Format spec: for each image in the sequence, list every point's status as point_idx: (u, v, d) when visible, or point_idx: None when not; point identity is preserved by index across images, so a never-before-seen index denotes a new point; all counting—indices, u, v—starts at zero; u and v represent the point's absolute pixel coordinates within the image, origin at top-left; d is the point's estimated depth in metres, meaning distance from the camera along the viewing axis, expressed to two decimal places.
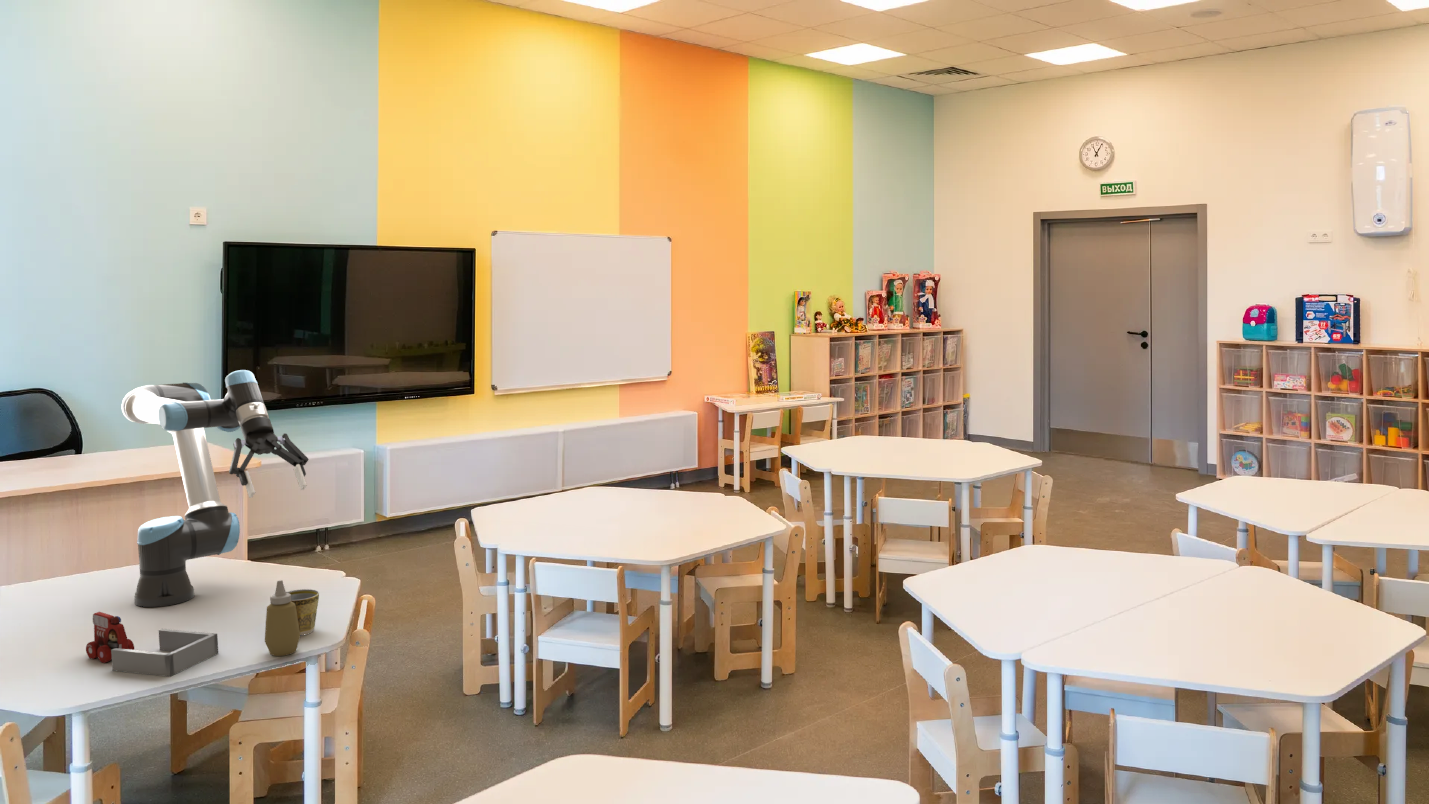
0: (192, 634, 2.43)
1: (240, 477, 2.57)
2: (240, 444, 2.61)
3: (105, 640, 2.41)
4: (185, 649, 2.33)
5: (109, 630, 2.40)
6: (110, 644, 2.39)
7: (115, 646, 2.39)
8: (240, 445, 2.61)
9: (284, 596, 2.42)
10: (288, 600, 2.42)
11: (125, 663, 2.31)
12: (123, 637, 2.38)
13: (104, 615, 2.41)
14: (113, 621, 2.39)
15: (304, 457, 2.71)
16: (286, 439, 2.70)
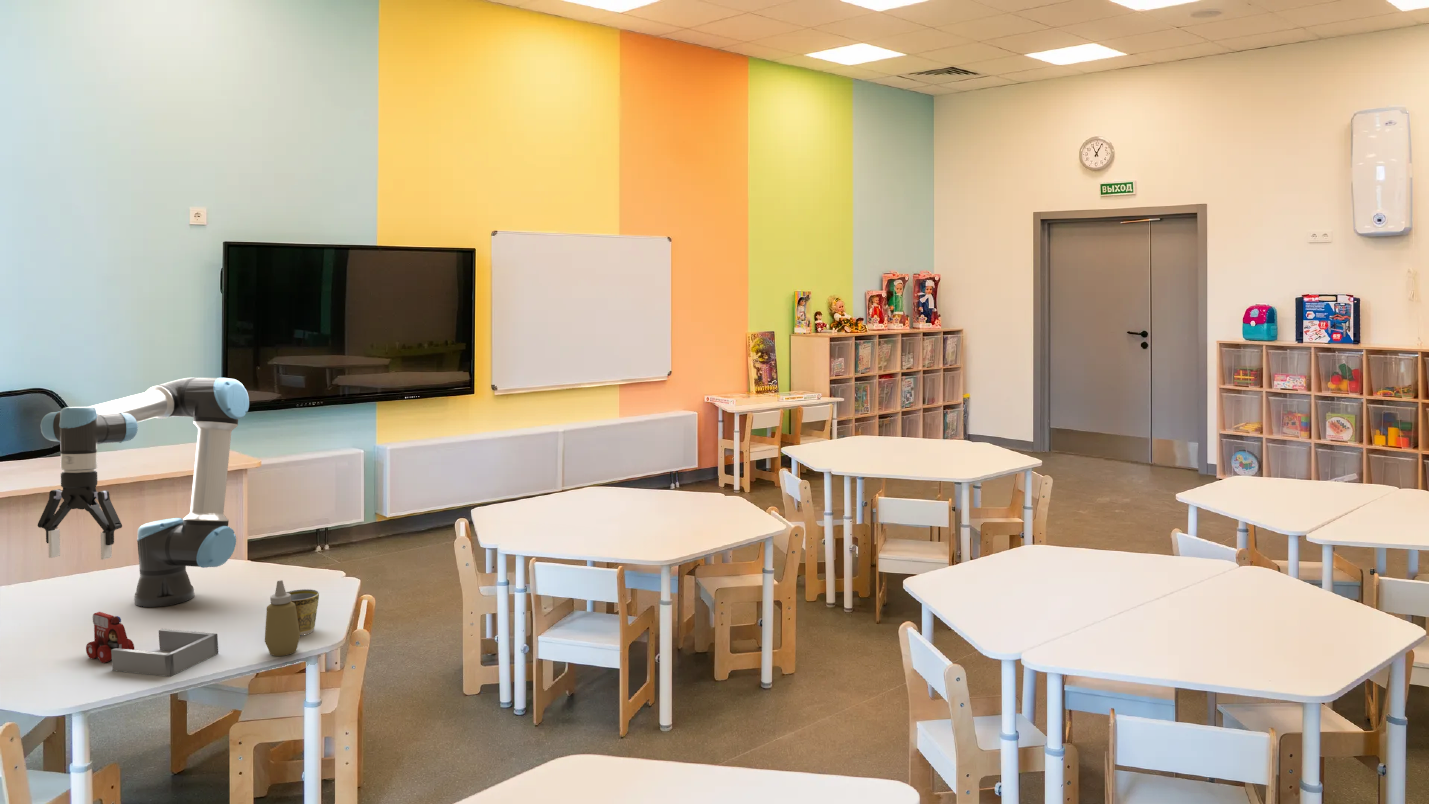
0: (192, 634, 2.43)
1: None
2: (52, 498, 2.41)
3: (105, 640, 2.41)
4: (185, 649, 2.33)
5: (109, 630, 2.40)
6: (110, 644, 2.39)
7: (115, 646, 2.39)
8: (52, 499, 2.41)
9: (284, 596, 2.42)
10: (288, 600, 2.42)
11: (125, 663, 2.31)
12: (123, 637, 2.38)
13: (104, 615, 2.41)
14: (113, 621, 2.39)
15: (111, 525, 2.40)
16: (99, 499, 2.40)
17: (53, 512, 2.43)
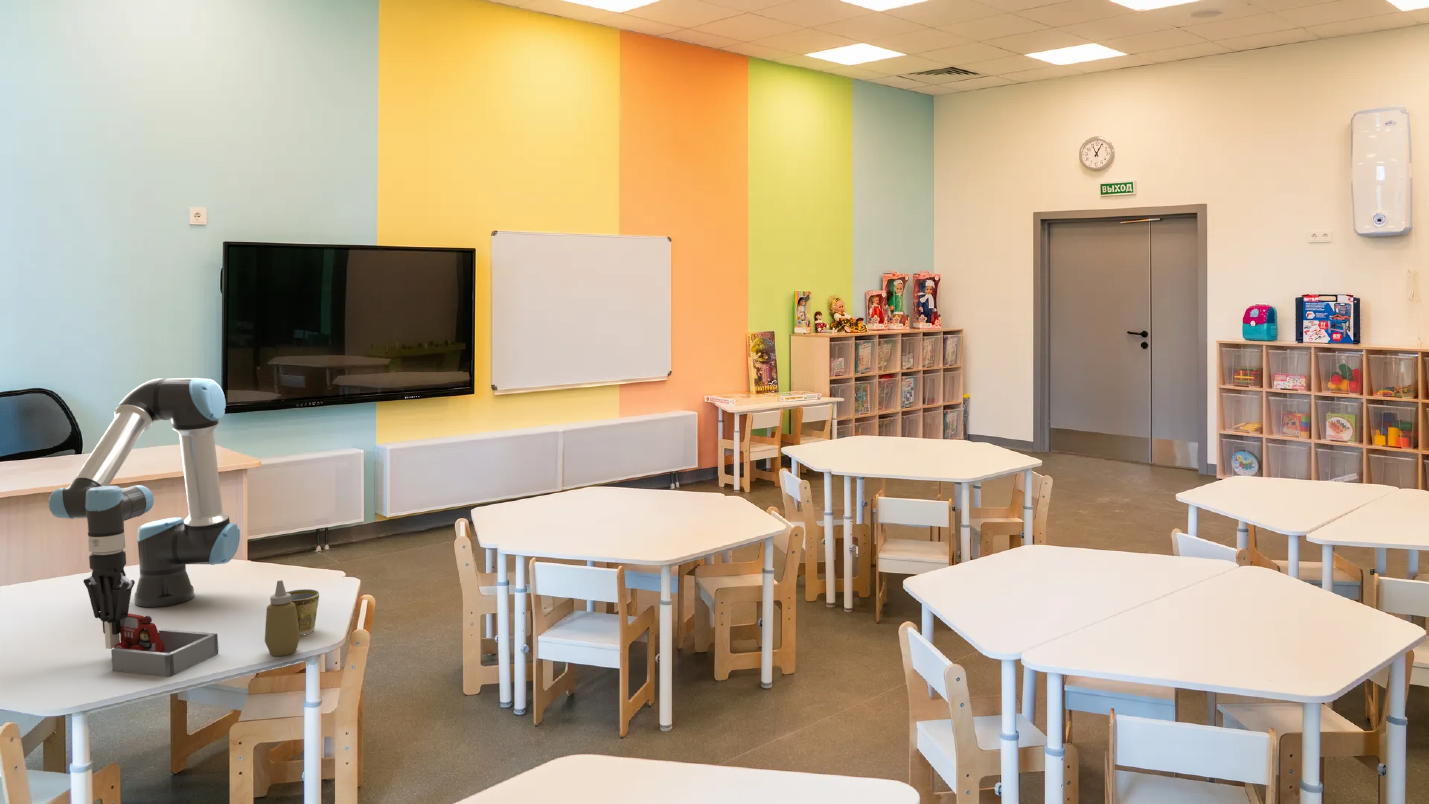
0: (192, 634, 2.43)
1: None
2: (89, 585, 2.39)
3: (134, 641, 2.40)
4: (185, 649, 2.33)
5: (139, 630, 2.40)
6: (142, 644, 2.38)
7: (147, 645, 2.39)
8: (89, 587, 2.39)
9: (284, 596, 2.42)
10: (288, 600, 2.42)
11: (125, 663, 2.31)
12: (156, 636, 2.39)
13: (133, 615, 2.41)
14: (145, 621, 2.39)
15: (117, 615, 2.38)
16: (121, 588, 2.37)
17: None
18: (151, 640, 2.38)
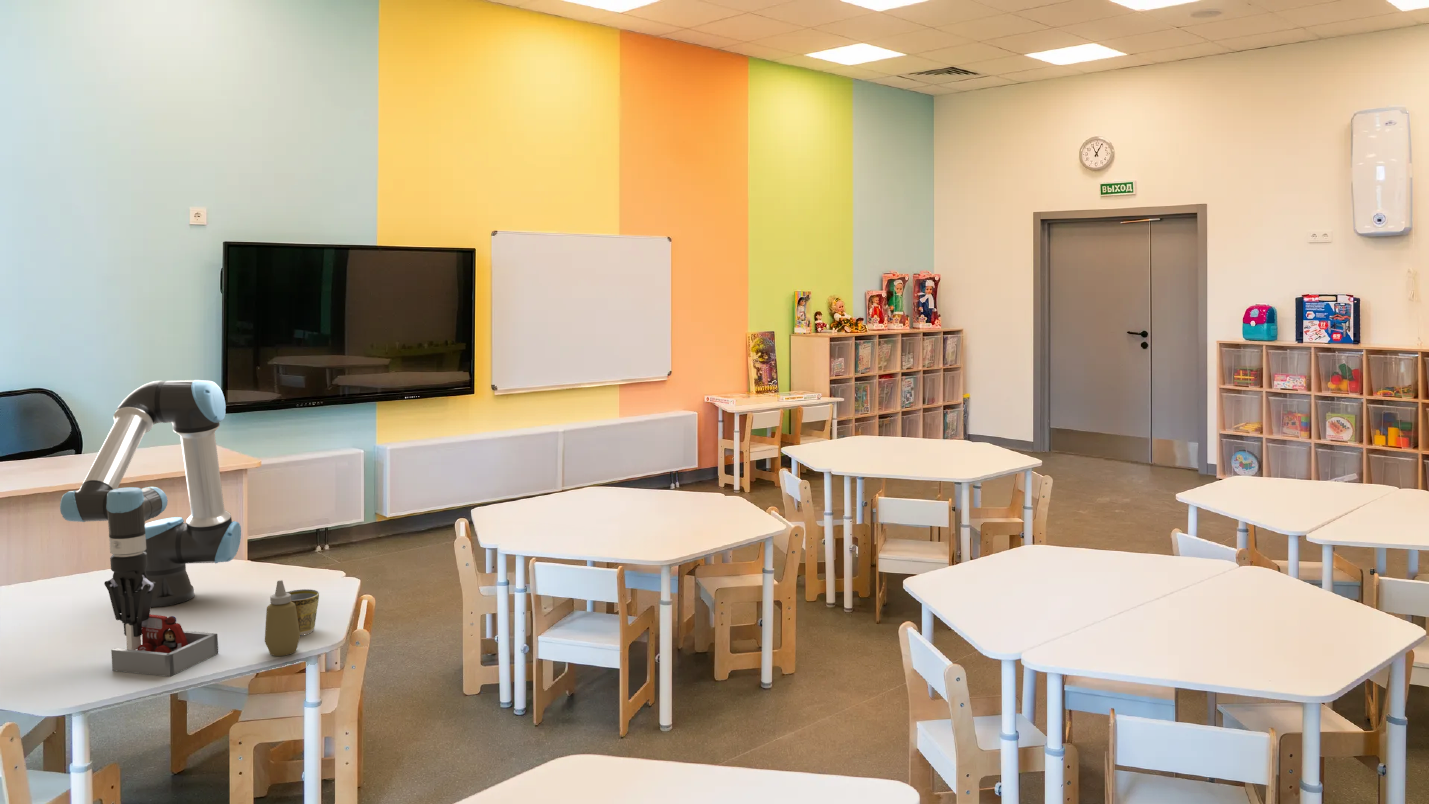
0: (192, 634, 2.43)
1: None
2: (110, 588, 2.38)
3: (158, 641, 2.40)
4: (185, 649, 2.33)
5: (163, 631, 2.39)
6: (168, 644, 2.38)
7: (173, 646, 2.39)
8: (110, 589, 2.38)
9: (284, 596, 2.42)
10: (288, 600, 2.42)
11: (125, 663, 2.31)
12: (182, 636, 2.39)
13: (156, 616, 2.40)
14: (170, 621, 2.39)
15: (139, 617, 2.37)
16: (143, 590, 2.36)
17: None
18: (177, 640, 2.38)
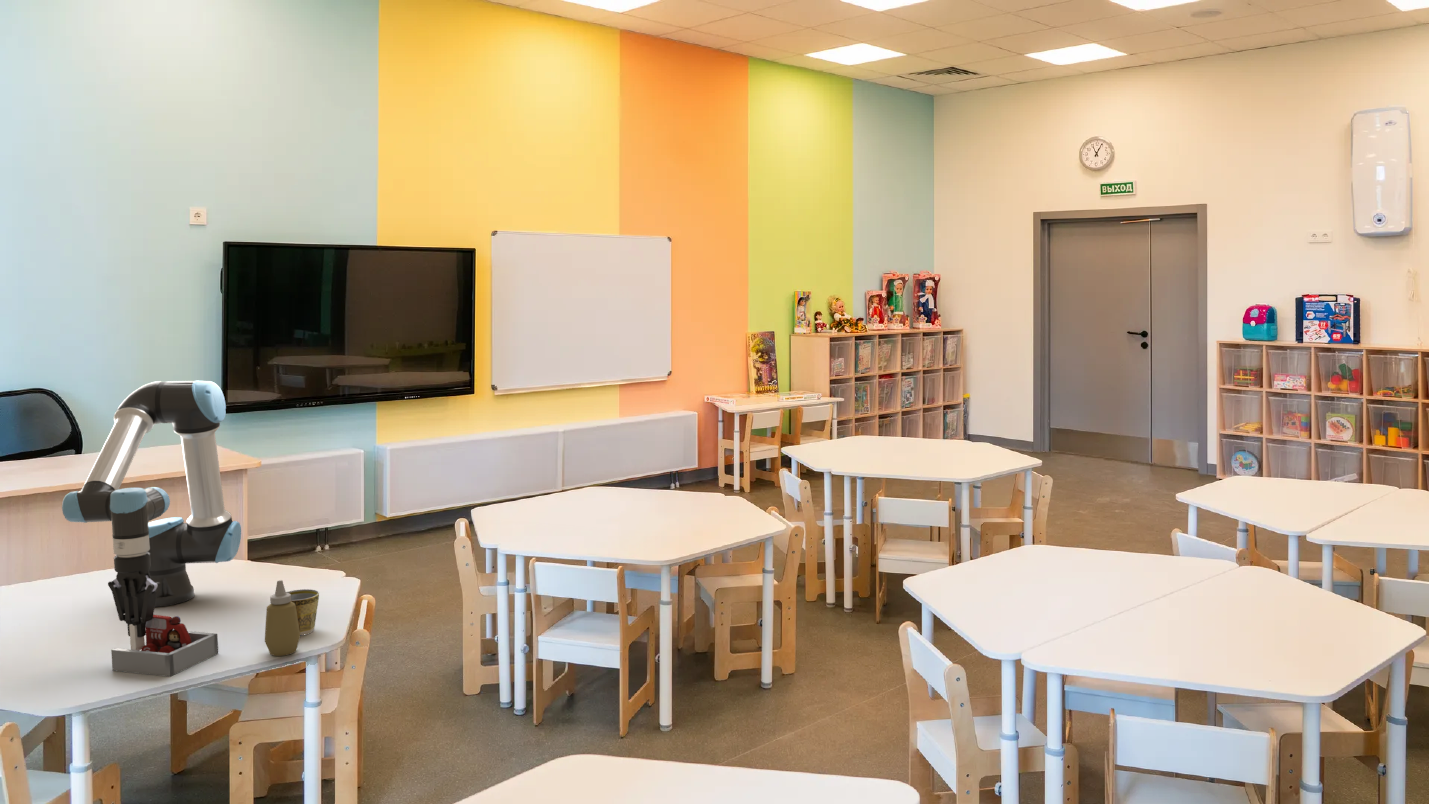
0: (192, 634, 2.43)
1: None
2: (113, 588, 2.38)
3: (162, 642, 2.40)
4: (185, 649, 2.33)
5: (168, 631, 2.39)
6: (172, 644, 2.38)
7: (177, 646, 2.39)
8: (114, 589, 2.38)
9: (284, 596, 2.42)
10: (288, 600, 2.42)
11: (125, 663, 2.31)
12: (187, 637, 2.39)
13: (160, 617, 2.40)
14: (174, 621, 2.39)
15: (143, 617, 2.37)
16: (147, 591, 2.36)
17: None
18: (181, 640, 2.39)
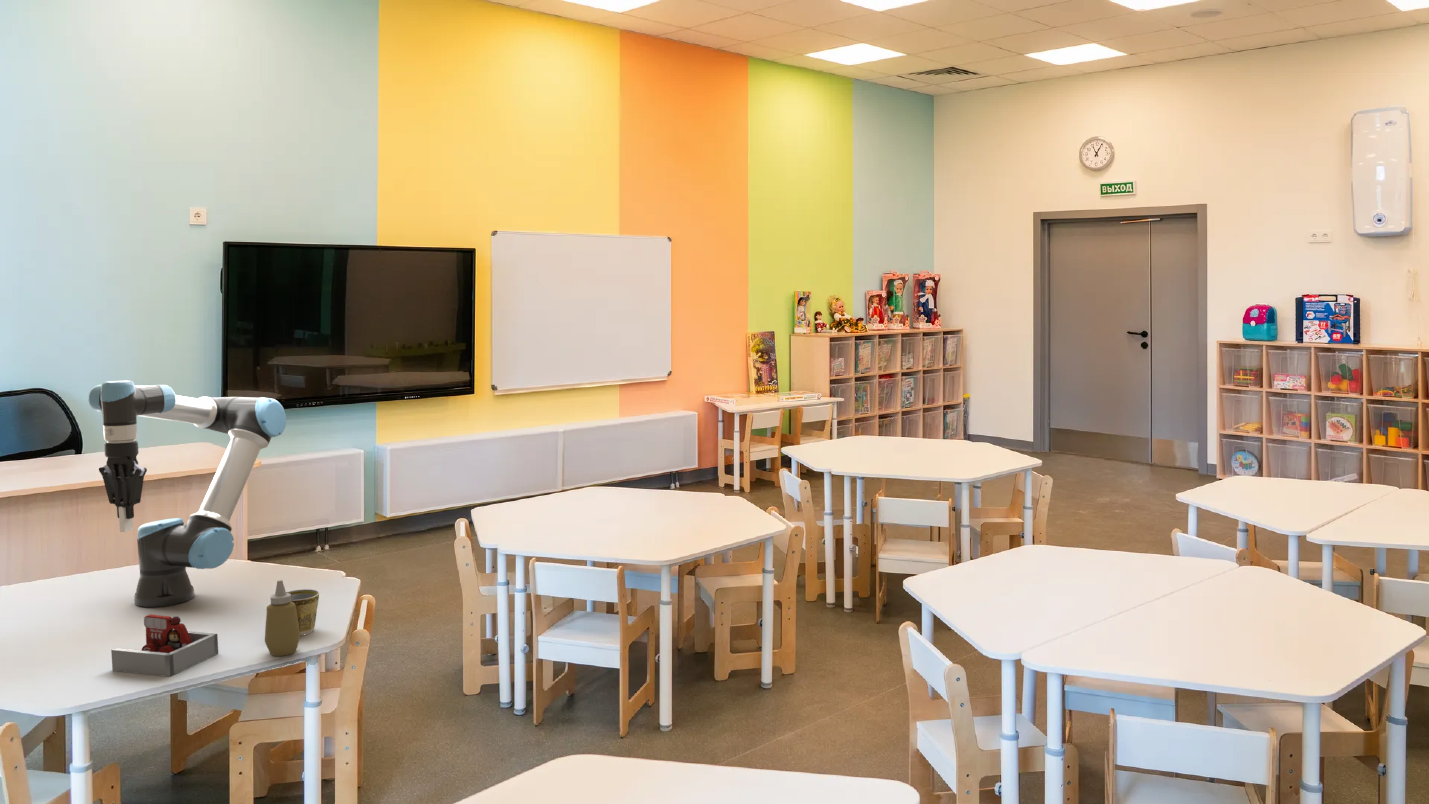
0: (192, 634, 2.43)
1: None
2: (104, 473, 2.57)
3: (162, 642, 2.40)
4: (185, 649, 2.33)
5: (168, 631, 2.39)
6: (172, 644, 2.38)
7: (177, 646, 2.39)
8: (104, 474, 2.57)
9: (284, 596, 2.42)
10: (288, 600, 2.42)
11: (125, 663, 2.31)
12: (187, 637, 2.39)
13: (160, 617, 2.40)
14: (174, 621, 2.39)
15: (131, 500, 2.56)
16: (134, 474, 2.55)
17: None
18: (181, 640, 2.39)
